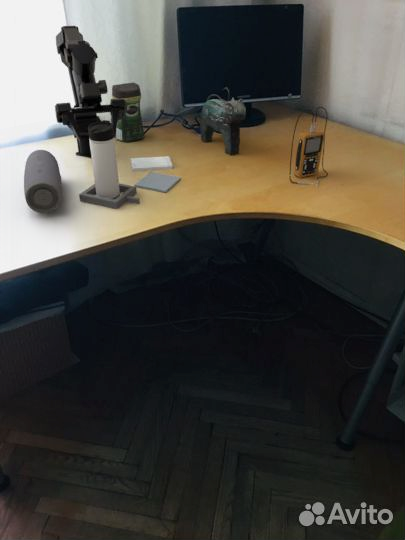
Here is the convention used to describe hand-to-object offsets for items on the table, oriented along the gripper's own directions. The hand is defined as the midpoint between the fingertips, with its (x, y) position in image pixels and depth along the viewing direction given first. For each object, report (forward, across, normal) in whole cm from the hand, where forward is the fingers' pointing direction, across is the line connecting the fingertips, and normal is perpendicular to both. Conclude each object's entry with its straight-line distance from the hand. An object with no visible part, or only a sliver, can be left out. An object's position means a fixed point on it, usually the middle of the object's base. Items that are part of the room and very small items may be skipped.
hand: (98, 139), depth 123 cm
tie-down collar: (+16, +1, +3) cm, 16 cm away
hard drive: (+3, +17, +18) cm, 25 cm away
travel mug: (+15, 0, +4) cm, 16 cm away
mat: (+12, +15, +7) cm, 21 cm away
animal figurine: (-3, +43, +22) cm, 49 cm away
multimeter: (+21, +60, -1) cm, 63 cm away
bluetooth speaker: (+12, -16, +8) cm, 21 cm away
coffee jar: (-16, +16, +35) cm, 42 cm away
